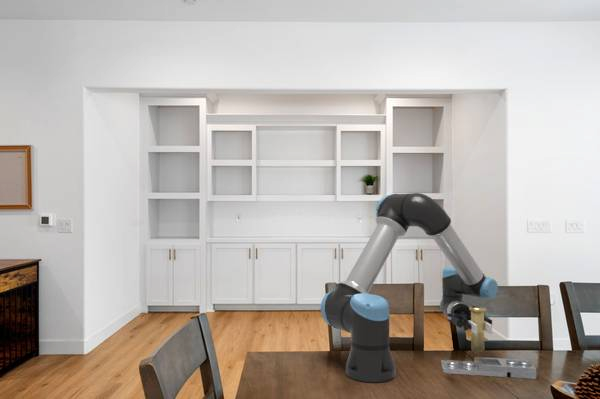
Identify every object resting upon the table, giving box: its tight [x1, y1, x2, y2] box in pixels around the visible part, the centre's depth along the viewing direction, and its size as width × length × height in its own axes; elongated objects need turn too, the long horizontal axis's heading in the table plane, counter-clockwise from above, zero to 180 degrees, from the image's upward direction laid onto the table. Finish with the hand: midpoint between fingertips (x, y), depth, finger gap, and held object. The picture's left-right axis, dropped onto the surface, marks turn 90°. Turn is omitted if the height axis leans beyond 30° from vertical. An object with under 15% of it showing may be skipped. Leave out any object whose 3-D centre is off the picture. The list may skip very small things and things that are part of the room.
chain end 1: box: [440, 359, 508, 378], centre depth 141 cm, size 18×8×2 cm, turn 78°
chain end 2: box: [473, 356, 537, 380], centre depth 139 cm, size 16×8×4 cm, turn 78°
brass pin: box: [468, 305, 487, 353], centre depth 150 cm, size 5×5×14 cm
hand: (483, 329), depth 145 cm, fingers closed on brass pin, 4 cm apart
